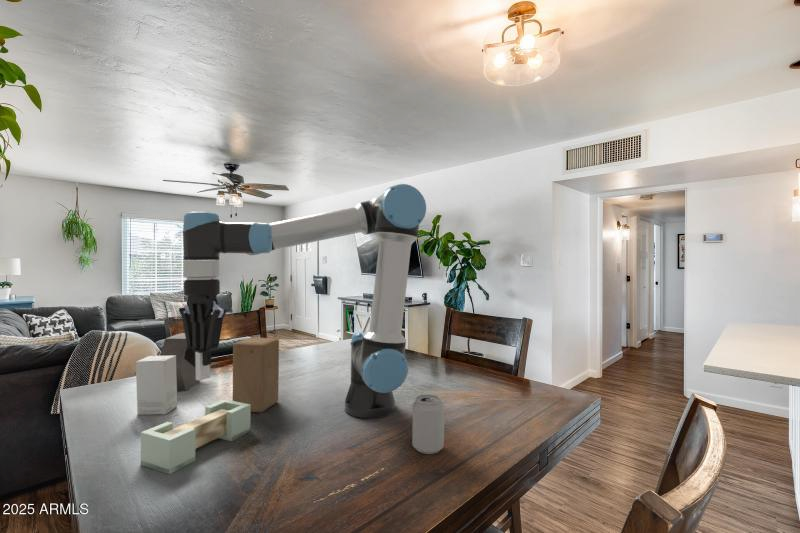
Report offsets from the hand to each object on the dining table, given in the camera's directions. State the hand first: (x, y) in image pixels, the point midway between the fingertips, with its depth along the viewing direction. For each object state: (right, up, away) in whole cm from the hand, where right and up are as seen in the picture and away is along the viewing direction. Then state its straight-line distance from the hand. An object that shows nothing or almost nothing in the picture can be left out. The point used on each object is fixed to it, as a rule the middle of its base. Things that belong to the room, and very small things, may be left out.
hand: (203, 378), depth 90 cm
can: (+53, -17, +1) cm, 56 cm away
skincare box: (-24, -16, +21) cm, 36 cm away
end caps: (-1, -16, 0) cm, 16 cm away
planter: (-30, -16, +44) cm, 55 cm away
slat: (-1, -15, 0) cm, 15 cm away
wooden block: (+3, -16, +26) cm, 31 cm away
